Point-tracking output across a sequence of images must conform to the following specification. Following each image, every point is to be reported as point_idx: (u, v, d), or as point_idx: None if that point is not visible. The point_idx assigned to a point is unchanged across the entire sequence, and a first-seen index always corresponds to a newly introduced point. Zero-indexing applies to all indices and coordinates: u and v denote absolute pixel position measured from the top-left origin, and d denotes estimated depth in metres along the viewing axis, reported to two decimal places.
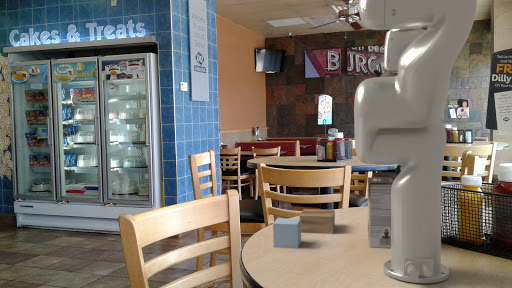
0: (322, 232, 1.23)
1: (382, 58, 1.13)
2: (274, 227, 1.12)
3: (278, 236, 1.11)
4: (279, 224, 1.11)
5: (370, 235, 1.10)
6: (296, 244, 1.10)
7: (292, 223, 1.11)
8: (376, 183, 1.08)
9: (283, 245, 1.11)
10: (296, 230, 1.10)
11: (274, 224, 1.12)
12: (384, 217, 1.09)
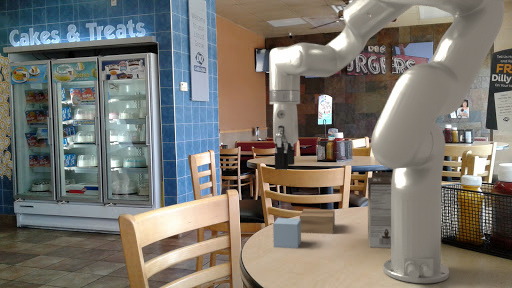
0: (322, 232, 1.23)
1: (283, 130, 1.07)
2: (274, 227, 1.12)
3: (278, 236, 1.11)
4: (279, 224, 1.11)
5: (370, 235, 1.10)
6: (296, 244, 1.10)
7: (292, 223, 1.11)
8: (376, 183, 1.08)
9: (283, 245, 1.11)
10: (296, 230, 1.10)
11: (274, 224, 1.12)
12: (384, 217, 1.09)
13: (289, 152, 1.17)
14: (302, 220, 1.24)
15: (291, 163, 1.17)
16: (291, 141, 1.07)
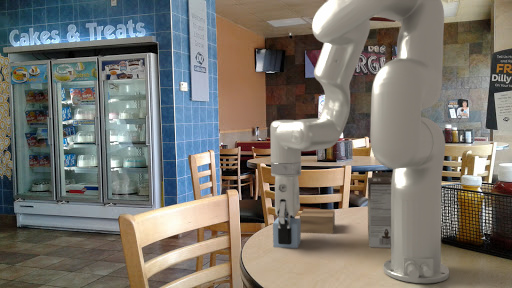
0: (322, 232, 1.23)
1: (285, 206, 1.08)
2: (274, 227, 1.12)
3: None
4: None
5: (370, 235, 1.10)
6: (296, 244, 1.11)
7: (292, 223, 1.11)
8: (376, 183, 1.08)
9: (283, 245, 1.11)
10: (296, 230, 1.10)
11: (274, 224, 1.12)
12: (384, 217, 1.09)
13: None
14: (302, 220, 1.24)
15: None
16: (293, 214, 1.08)
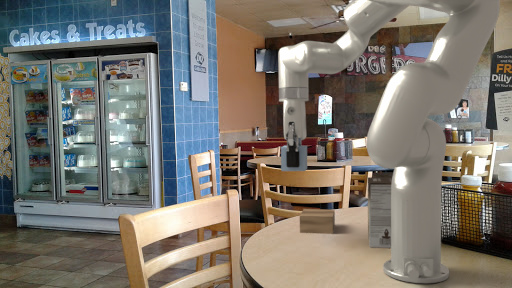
0: (322, 232, 1.23)
1: (294, 128, 1.11)
2: (282, 151, 1.14)
3: None
4: None
5: (370, 235, 1.10)
6: (303, 167, 1.13)
7: (299, 147, 1.14)
8: (376, 183, 1.08)
9: (291, 168, 1.14)
10: (303, 153, 1.13)
11: (282, 148, 1.14)
12: (384, 217, 1.09)
13: None
14: (302, 220, 1.24)
15: None
16: (301, 136, 1.11)
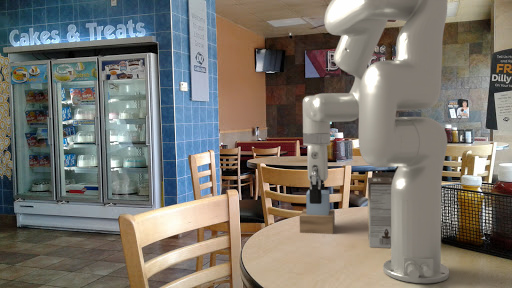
0: (322, 232, 1.23)
1: (317, 169, 1.22)
2: (307, 196, 1.25)
3: (311, 204, 1.25)
4: None
5: (370, 235, 1.10)
6: (327, 211, 1.24)
7: (323, 193, 1.25)
8: (376, 183, 1.08)
9: (315, 212, 1.25)
10: (327, 199, 1.24)
11: (307, 194, 1.25)
12: (384, 217, 1.09)
13: (320, 186, 1.32)
14: (302, 220, 1.24)
15: None
16: (324, 178, 1.22)
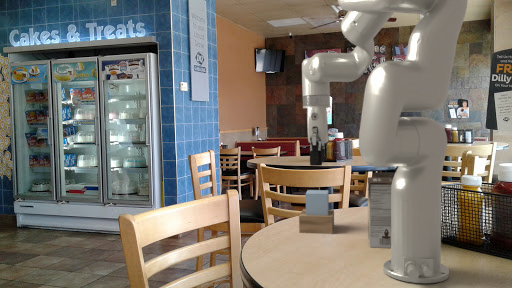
0: (322, 232, 1.23)
1: (317, 130, 1.21)
2: (306, 197, 1.25)
3: (310, 204, 1.25)
4: (311, 194, 1.25)
5: (370, 235, 1.10)
6: (326, 211, 1.24)
7: (322, 193, 1.25)
8: (376, 183, 1.08)
9: (314, 213, 1.25)
10: (326, 199, 1.24)
11: (306, 194, 1.25)
12: (384, 217, 1.09)
13: (320, 151, 1.31)
14: (301, 220, 1.24)
15: (322, 161, 1.31)
16: (324, 140, 1.21)
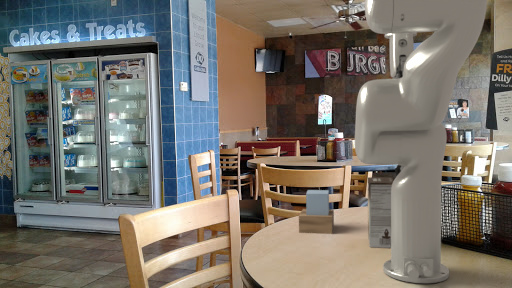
0: (322, 232, 1.23)
1: (405, 59, 1.05)
2: (307, 197, 1.25)
3: (311, 204, 1.25)
4: (311, 194, 1.25)
5: (370, 235, 1.10)
6: (327, 211, 1.24)
7: (323, 193, 1.25)
8: (376, 183, 1.08)
9: (315, 213, 1.25)
10: (327, 199, 1.24)
11: (307, 194, 1.25)
12: (384, 217, 1.09)
13: None
14: (301, 220, 1.25)
15: None
16: None
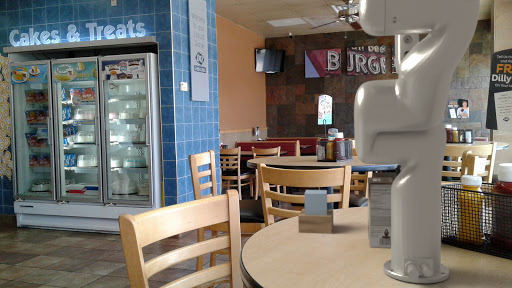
0: (321, 232, 1.24)
1: None
2: (305, 197, 1.25)
3: (309, 204, 1.25)
4: (310, 194, 1.25)
5: (370, 235, 1.10)
6: (325, 211, 1.24)
7: (321, 193, 1.25)
8: (376, 183, 1.08)
9: (313, 213, 1.25)
10: (325, 199, 1.24)
11: (305, 194, 1.25)
12: (384, 217, 1.09)
13: None
14: (301, 220, 1.25)
15: None
16: None
